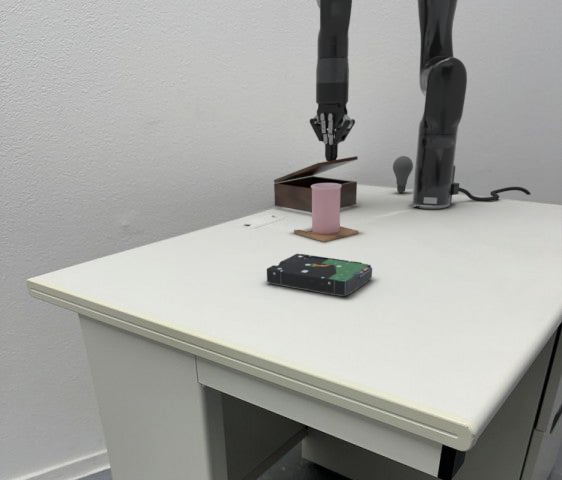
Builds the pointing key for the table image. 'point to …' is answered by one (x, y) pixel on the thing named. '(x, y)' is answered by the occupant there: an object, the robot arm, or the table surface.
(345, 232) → the cork pad
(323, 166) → the chest lid
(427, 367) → the table surface
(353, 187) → the chest
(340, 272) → the disk drive
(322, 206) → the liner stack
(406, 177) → the light bulb
